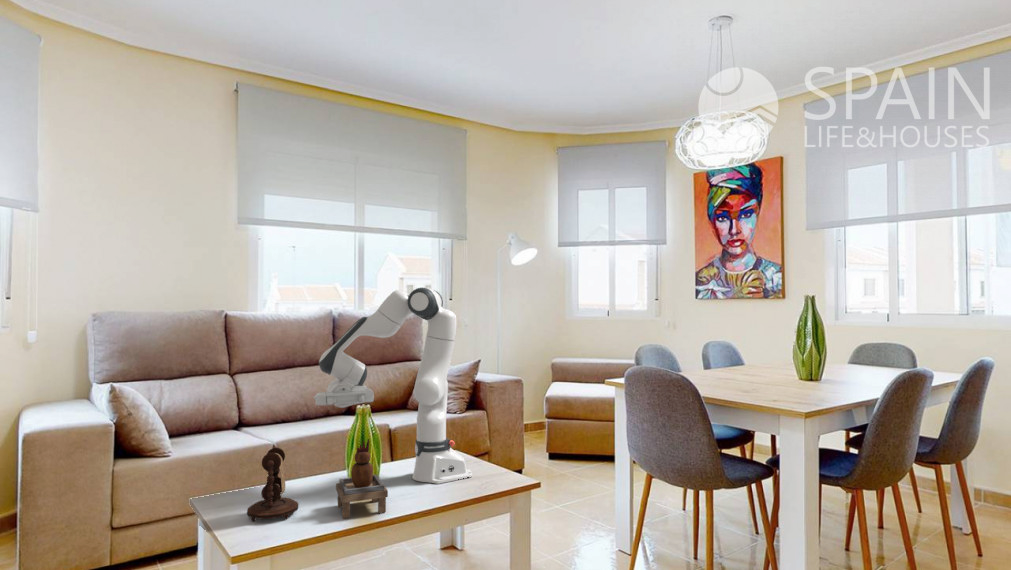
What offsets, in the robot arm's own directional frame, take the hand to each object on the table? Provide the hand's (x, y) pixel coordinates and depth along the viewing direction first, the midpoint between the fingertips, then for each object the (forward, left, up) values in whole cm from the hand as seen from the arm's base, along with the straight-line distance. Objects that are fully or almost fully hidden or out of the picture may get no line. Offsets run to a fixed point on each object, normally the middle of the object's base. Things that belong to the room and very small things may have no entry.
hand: (347, 400), depth 199 cm
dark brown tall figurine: (+24, +11, -32) cm, 42 cm away
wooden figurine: (-2, +17, -25) cm, 30 cm away
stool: (-2, +17, -32) cm, 36 cm away
